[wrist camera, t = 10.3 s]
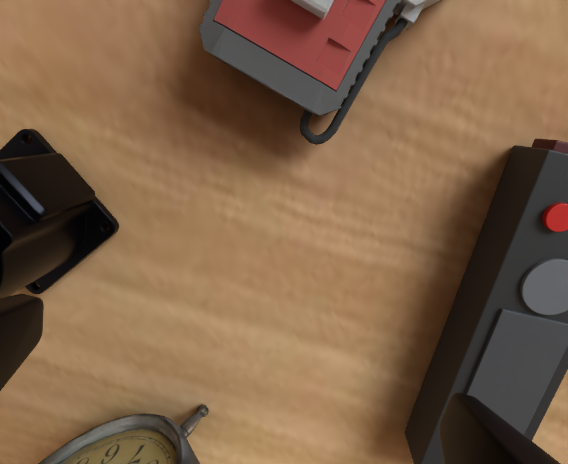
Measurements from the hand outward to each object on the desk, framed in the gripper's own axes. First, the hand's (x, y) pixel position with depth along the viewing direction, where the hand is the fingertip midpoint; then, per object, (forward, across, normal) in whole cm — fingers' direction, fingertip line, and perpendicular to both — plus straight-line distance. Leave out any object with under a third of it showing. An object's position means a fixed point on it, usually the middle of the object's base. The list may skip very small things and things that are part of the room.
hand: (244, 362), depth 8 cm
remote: (+12, -12, +2) cm, 17 cm away
